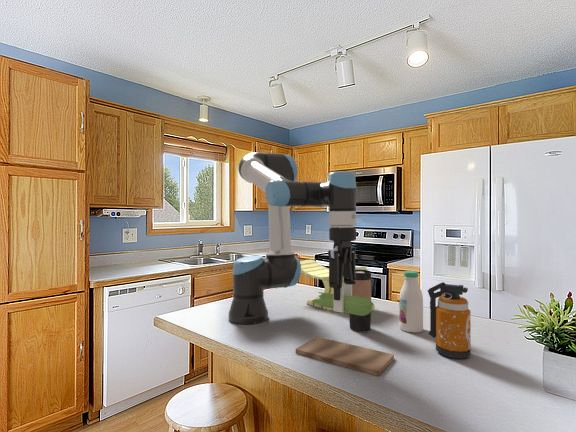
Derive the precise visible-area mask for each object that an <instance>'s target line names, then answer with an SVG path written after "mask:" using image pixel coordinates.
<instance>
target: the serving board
mask: <svg viewBox="0 0 576 432" xmlns="http://www.w3.org/2000/svg"><path fill="white" fill-rule="evenodd" d="M295 354H298V355H301V356H305V357H309V358H312V359H316V360H319V361H323V362H327V363H330V364H334V365H338V366H342V367H344V368H349V369H352V370H356V371H359V372H363V373H366V374H370V375H374V376H376V377H380V376H381V375H382V374H383V372H384V371H385V370H386V369H387V368H388V367H389V365H391V363H392V362H393V361H394V359H395V354H393V353H389V352H385V351H381V350H376V349H373V348H367V347H364V346H358V345H354V344H351V343H347V342H342V341H337V340H334V339H329V338H324V337H321V336H317V335H316V336H314V337H313V338H311V339H309V340H308V341H306V342H304V343H303V344H302V345H300V346H298V347H296V348H295Z"/></svg>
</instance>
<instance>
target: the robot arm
mask: <svg viewBox="0 0 576 432" xmlns="http://www.w3.org/2000/svg"><path fill="white" fill-rule="evenodd" d="M237 167H238V168H237V169H238V173H239V175H240V177H241V178H242V179H243V180H244V181H245V182H247V183H250V184H254V185H255V186H256V187H257V188H259V189H260V190H261V191H263V192H264V196H265V200H266V203H267V204H268V235H269V251H268V252H267V253H266V254H265V255H266V256H265V258H264V256H262V255H249V256H244V257H239V258H237V259H236V260H235V261H234V262H233V266H232V293H233V294H232V301H231V305H230V309H229V311H228V321H229V322H231V323H233V324H239V325H253V324H254V325H255V324H258V323H262V322H265V321H266V320H268V319H269V310H268V308H267V304H266V301H265V298H264V294H265V293H264V290H270V289H279V288H284V289H285V288H288V287H289V288H290V287H294V286H296V285H297V284H298V282H299V281H300V279H301V278H300V277H301V275H302V271H301V264H300V261H301V260H300V259H299V258H298V257H296V254H295V252H294V251H293V249H292V243H291V239H292V238H291V215H290V214H291V213H290V207H304V208H305V207H306V208H307V207H312V208H313V207H315V208H325V207H326V208H327V207H328V225H329V226H330V228H329V229H328V235H329V236H328V237H329V240H330V241H331V242H333V246H332V250H331V249H329V250H328V251H327V256H328V269H329V286H330V287H331V288H333V305H334V309H333V312H336V313H337V312H339V313H345V312H344V295H348V296H352V284H355V283H356V281H355V280H356V272H355V268H356V252H357V248H356V247H355V246H353V244H352V242H354V241H356V240H357V228H356V227H355V226H356V225H357V218H358V215H357V213H356V211H357V183H356V175H355V173H354V172H352V171H348V170H347V171H346V170H345V171H343V170H342V171H341V170H340V171H332V172H330V173H329V175H328V179H327V181H324V182H321V181H320V182H319V181H299V180H297V178H298V177H297V176H298V163H297V162H296V159H295V158H294V157H293V156H291V155H289V154H284V153H276V152H275V153H273V152H261V151H256V152H254V151H253V152H250V153H248V154H246V155H245V156H243V157H241V159H240V160H239V163H238V165H237ZM343 279H344V283H345V284H342V281H343Z"/></svg>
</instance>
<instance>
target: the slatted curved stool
mask: <svg viewBox="0 0 576 432" xmlns="http://www.w3.org/2000/svg"><path fill="white" fill-rule="evenodd" d="M300 264H301V275H305V277H306V278H309V279H310V278H312V279H313V278H314V279H317V280H321V281H322V283H323V286H324V291H323V293H329V294H333V288H331V287H330V286H329V268H328V267H326V266H324V265H322V264H321V263H319V262H318V261H316V260H314V259H305V260H300ZM355 270H368V268H367V267H366V266H359V267H355ZM342 284H345V283H344V279H343V281H342ZM313 299H321V298H320V297H319V296H317V297H315V298H312V299H309V300H307V301H306V305H307V304H309V305H308V306H311V305H312V306H313V305H314V307H315V306H317V307H316V308H319V307H320V309H323V308H324V309H323V310H326V309H327V310H326V311H333V309H332V308H329V307H324V306H319V305H318V304H316V303H314V302H312V300H313Z"/></svg>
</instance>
